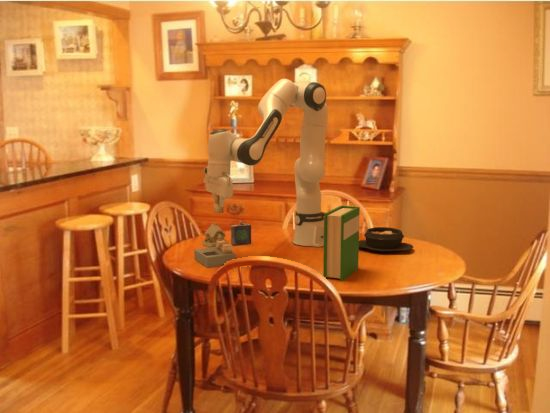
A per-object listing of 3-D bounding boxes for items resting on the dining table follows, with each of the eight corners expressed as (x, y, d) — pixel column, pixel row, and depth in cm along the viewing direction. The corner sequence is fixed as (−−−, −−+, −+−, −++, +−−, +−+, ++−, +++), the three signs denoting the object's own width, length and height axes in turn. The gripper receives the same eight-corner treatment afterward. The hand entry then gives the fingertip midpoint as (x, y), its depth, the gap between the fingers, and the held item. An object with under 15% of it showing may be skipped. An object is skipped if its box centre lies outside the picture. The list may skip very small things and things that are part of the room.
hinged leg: (215, 247, 238) (215, 240, 237) (222, 246, 239) (222, 239, 238) (225, 253, 228) (225, 246, 227) (232, 252, 229) (232, 245, 228)
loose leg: (221, 211, 232) (221, 191, 231) (224, 212, 229) (225, 193, 227) (212, 211, 230) (212, 192, 229) (216, 213, 227) (216, 193, 226)
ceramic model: (198, 243, 262) (198, 221, 260) (222, 240, 267) (221, 219, 265) (209, 250, 250) (209, 227, 248) (233, 247, 254) (233, 224, 253)
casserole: (350, 252, 245) (350, 233, 243) (359, 242, 262) (359, 224, 260) (410, 257, 236) (411, 237, 235) (415, 246, 254) (416, 228, 252)
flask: (231, 246, 256) (231, 222, 254) (230, 244, 259) (229, 221, 257) (251, 244, 259) (251, 221, 257) (250, 242, 262) (249, 219, 260)
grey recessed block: (221, 255, 240) (221, 246, 240) (235, 263, 228) (235, 253, 228) (194, 259, 235) (194, 249, 234) (207, 267, 223) (207, 257, 222)
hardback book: (342, 281, 206) (343, 215, 201) (323, 278, 209) (324, 213, 204) (358, 268, 221) (359, 207, 217) (339, 266, 224) (341, 205, 220)
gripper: (237, 173, 219) (236, 209, 222) (216, 168, 237) (216, 201, 239) (222, 174, 216) (221, 210, 219) (202, 168, 234) (202, 202, 236)
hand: (218, 205), depth 229 cm, fingers closed on loose leg, 4 cm apart
